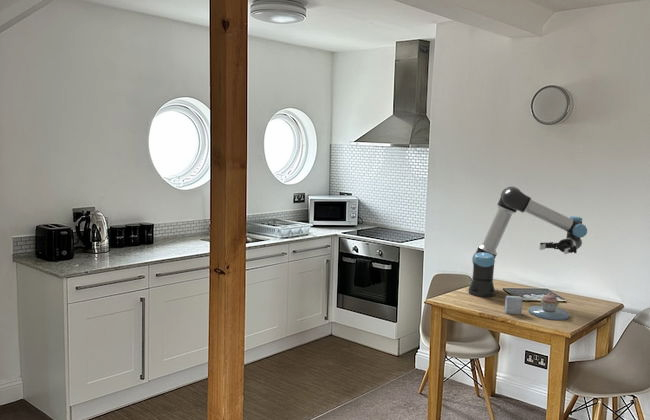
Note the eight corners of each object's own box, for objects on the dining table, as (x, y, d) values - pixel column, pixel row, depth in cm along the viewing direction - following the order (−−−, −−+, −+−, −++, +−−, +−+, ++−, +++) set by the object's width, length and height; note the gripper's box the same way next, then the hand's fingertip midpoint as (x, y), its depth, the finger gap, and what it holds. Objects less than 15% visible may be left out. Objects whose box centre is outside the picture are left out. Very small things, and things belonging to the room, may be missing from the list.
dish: (534, 318, 308) (534, 315, 308) (524, 307, 328) (524, 304, 327) (574, 321, 306) (574, 317, 306) (562, 309, 326) (562, 306, 326)
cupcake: (535, 309, 318) (537, 291, 316) (545, 307, 323) (547, 288, 322) (552, 314, 310) (553, 295, 309) (561, 311, 316) (563, 293, 315)
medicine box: (519, 312, 318) (520, 296, 317) (521, 314, 314) (522, 298, 313) (504, 311, 319) (505, 295, 318) (506, 313, 315) (507, 297, 314)
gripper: (588, 255, 336) (575, 260, 321) (544, 248, 353) (529, 252, 337) (590, 242, 335) (576, 246, 320) (545, 235, 352) (531, 239, 336)
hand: (552, 249), depth 328 cm, fingers open, 13 cm apart
